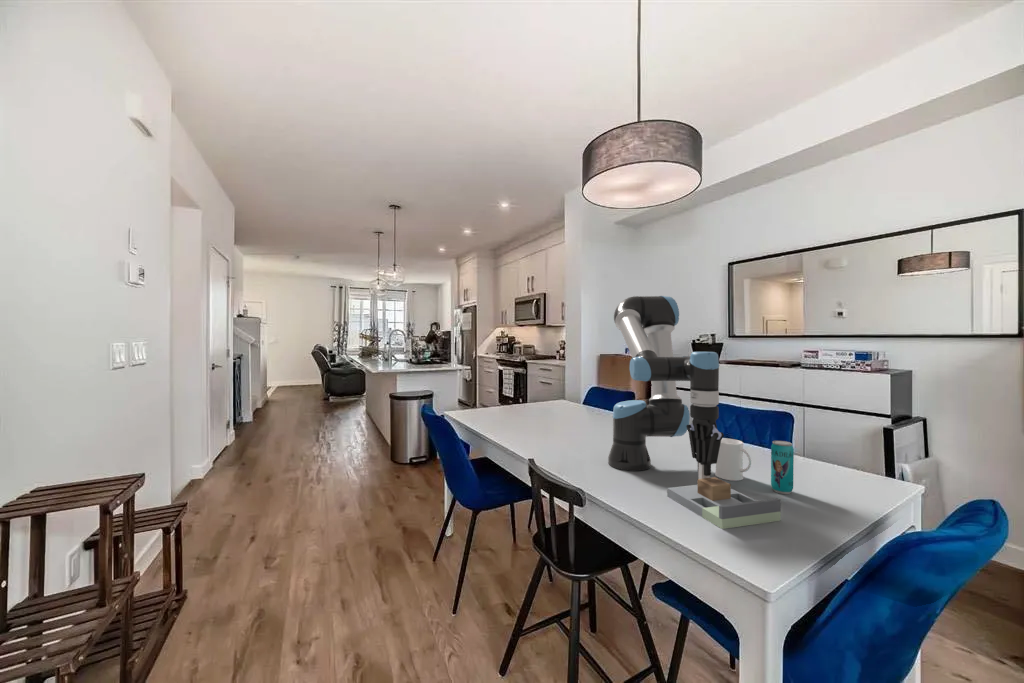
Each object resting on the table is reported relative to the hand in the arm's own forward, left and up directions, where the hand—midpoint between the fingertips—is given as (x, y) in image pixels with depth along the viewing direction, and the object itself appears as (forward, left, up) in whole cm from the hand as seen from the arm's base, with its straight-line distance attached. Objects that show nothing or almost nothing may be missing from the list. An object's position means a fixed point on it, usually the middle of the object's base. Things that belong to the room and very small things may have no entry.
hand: (704, 485), depth 122 cm
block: (+4, 0, -2) cm, 4 cm away
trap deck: (+6, 0, -4) cm, 7 cm away
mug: (-13, +22, -4) cm, 26 cm away
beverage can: (+1, +27, -4) cm, 27 cm away
